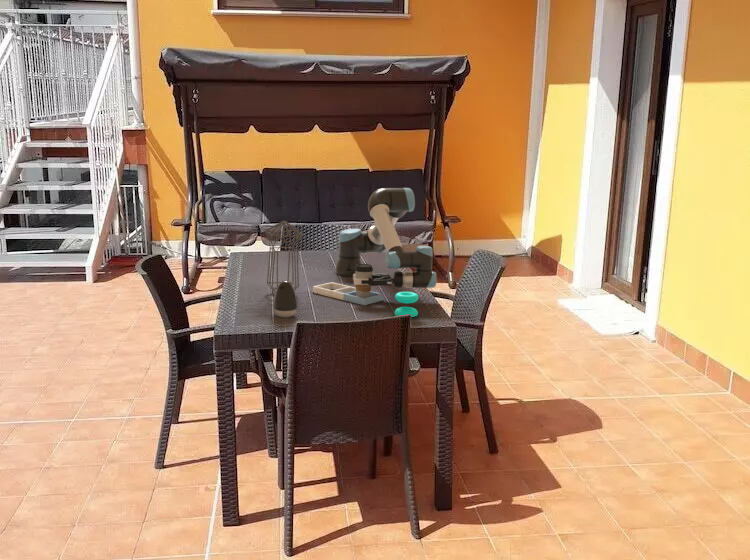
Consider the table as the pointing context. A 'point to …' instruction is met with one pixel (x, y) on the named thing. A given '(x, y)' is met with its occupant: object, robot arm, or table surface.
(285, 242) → the geometric lantern
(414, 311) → the donuts
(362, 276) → the coffee cup
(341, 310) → the table surface
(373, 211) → the robot arm
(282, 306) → the pump dispenser
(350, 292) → the gap frame
